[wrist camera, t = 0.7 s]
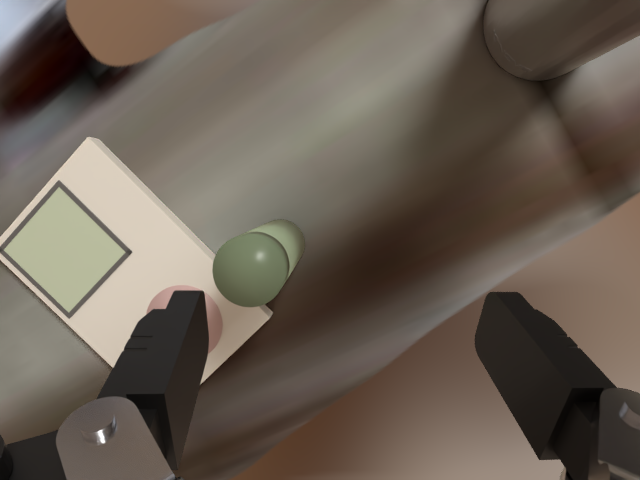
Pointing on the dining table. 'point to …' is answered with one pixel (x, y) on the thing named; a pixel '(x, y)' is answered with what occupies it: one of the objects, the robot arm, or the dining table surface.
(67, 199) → the picture board
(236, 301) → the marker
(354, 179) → the dining table surface
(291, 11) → the dining table surface
